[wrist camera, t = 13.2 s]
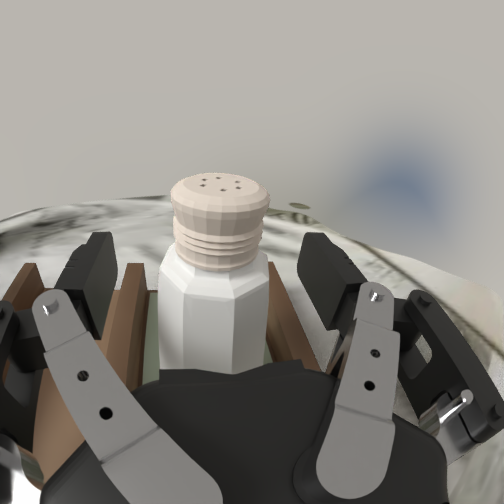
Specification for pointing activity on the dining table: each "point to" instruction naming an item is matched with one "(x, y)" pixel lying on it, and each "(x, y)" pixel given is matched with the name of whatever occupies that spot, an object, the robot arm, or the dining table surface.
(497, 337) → the dining table surface
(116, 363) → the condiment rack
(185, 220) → the salt shaker
